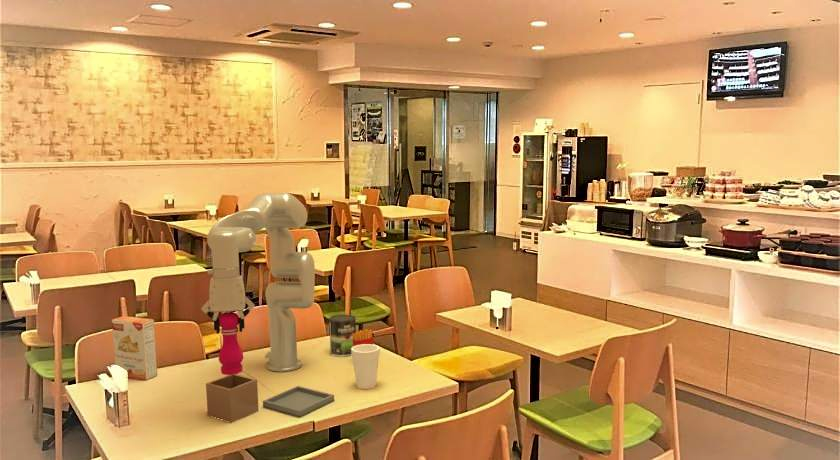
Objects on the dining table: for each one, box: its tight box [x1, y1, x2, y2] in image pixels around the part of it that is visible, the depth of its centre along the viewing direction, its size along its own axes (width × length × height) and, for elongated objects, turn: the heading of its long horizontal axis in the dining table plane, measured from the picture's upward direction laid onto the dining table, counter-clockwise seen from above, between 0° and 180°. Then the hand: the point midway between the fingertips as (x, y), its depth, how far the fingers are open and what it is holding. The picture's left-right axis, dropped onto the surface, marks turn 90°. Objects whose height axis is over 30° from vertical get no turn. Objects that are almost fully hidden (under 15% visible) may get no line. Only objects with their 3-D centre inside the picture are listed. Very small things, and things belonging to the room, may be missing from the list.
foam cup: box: [350, 344, 381, 390], centre depth 228 cm, size 10×9×13 cm
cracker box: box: [111, 315, 158, 381], centre depth 240 cm, size 14×6×21 cm, turn 68°
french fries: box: [352, 328, 374, 346], centre depth 254 cm, size 8×4×12 cm, turn 128°
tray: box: [262, 385, 335, 418], centre depth 214 cm, size 16×16×2 cm
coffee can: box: [328, 314, 357, 358], centre depth 265 cm, size 10×10×14 cm
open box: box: [205, 374, 259, 424], centre depth 206 cm, size 11×11×10 cm
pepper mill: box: [218, 311, 244, 376], centre depth 204 cm, size 7×7×20 cm
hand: (229, 331), depth 204 cm, fingers closed on pepper mill, 6 cm apart
